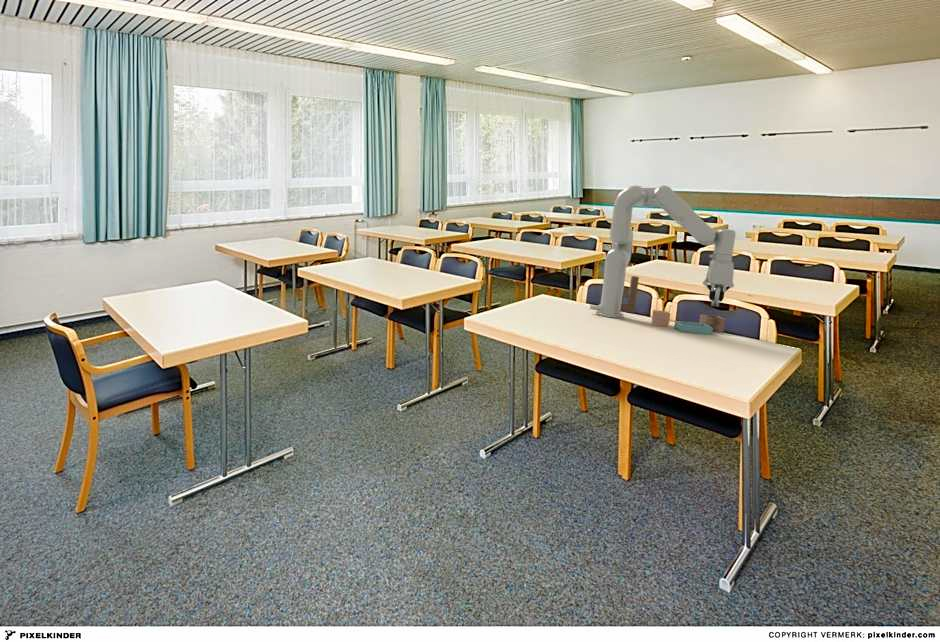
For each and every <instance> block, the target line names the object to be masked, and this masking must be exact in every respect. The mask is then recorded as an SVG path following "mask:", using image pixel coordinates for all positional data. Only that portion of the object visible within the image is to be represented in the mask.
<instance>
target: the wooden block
mask: <svg viewBox="0 0 940 642" xmlns="http://www.w3.org/2000/svg"><path fill="white" fill-rule="evenodd" d="M639 279H640V277H639V276H636V275H632V276H631V277H630V285H629V291H628V292H627V290H626V289H625V288H624V290H623V297H622V305H621V312H624V313H630V314H635V313H636V310H637V305H636V302H637V294H638V287H639ZM624 298H627V303H624Z"/></svg>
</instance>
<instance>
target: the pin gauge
mask: <svg viewBox="0 0 940 642" xmlns="http://www.w3.org/2000/svg"><path fill="white" fill-rule="evenodd" d="M721 288H722V285H716V284H715V287H714V292H715V294H714V300H713V301H712V300H711V304H710V306H711V307H714V308H718V307H719V306H720V302H721V301H720V294H721Z"/></svg>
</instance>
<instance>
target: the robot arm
mask: <svg viewBox="0 0 940 642" xmlns="http://www.w3.org/2000/svg"><path fill="white" fill-rule="evenodd" d="M634 206H635V207H660V208H661V209H662V210H663V211H664V212H665V213H666V214H668V216H669V217H670V218H671V219H672V220H673V221H675V223H676V224H678V225H679V226H681V227H682V228H683V229H684V230H686V232H687V233H688V234H690V235H691V237H692V238H694V239H695V240H696V241H697V242H698V243H699V244H701V245H703V246H711V245H712V246H714V248H713V253H712V254H709V258H710V259H712V260H710V261H709V265H708V268H707V272H706V277H705V278H704V280H703V282H702V285H704V286H705V287H706V288H707V289H708V291H709V294H708V298H709V300H710V301H711V302H712V301H713V300H714V294H715V292H714V287H715V284H716V285H722V288H721V294H720V301H719V302H723V300H724V299H725V298H724V297H725V293H726V292H727V291H728V290H729V289H732V288H734V287H735V284H734V282H733V281H734V271H735V269H734V262H733V261H732V260H733V253H734V246H735V241H736V234H737V232H736V231H735V230H734V229H728V228H727V229H726V228H720V229H716V228H713V227H711V226H710V225H709V224H707V223H706V222H705V221H704V220H703V219H702V217H700V216H699V215H698V214H697V213H696V212H695V211H694V209H693V208H692V207H691V205H689V204H688V203H687V202H686V201H685V200H683V198H682V197H680V196H679V195H678V194H677V193H676V192H675V191H674V190H673V189H672V188H671V187H669V185H660V186H658V187H642V186H639V185H632V186H628V187H626V188H625V189H623V190H622V191H620V193H619V194H618V196H617V197H616V198H615V201H614V204H613V210H612V215H611V217H612V218H611V225H610V231H609V239H610V241H611V249H610V250H609V251H608V252H607V253H606V256H605V259H604V273H603V274H604V275H603V279H602V280H603V282H602V289H601V298H600V303H599V304H598V305H591V304H590V305H589V310H592V311H594V310H595V311H596V312H595V315H597V316H600V317H607V318H615V319H616V318H617V319H618V318H624V316H625V315H624V314H623V313H621V312H622V311H621V305H622V297H623V290H624V289H625V280H626V274H627V273H626V271H627V265H628V264H629V263H630V261H631V257H632V248H633V241H634V231H633V229H632V227H631V224H632V215H633V209H634ZM623 298H624V297H623Z"/></svg>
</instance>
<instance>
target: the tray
mask: <svg viewBox="0 0 940 642" xmlns="http://www.w3.org/2000/svg"><path fill="white" fill-rule="evenodd" d="M674 327H675V328H674ZM673 328H674V329H675V330H677V331H678V332H679V333H686V334H687V333H688V334H699V335H707V334H712V335H713V332H712V331H713V328H712V327H710V326H709V325H707V324H702V323H699V322H691V321H680V320H679V321H678V320H675V321H674V326H673Z"/></svg>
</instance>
